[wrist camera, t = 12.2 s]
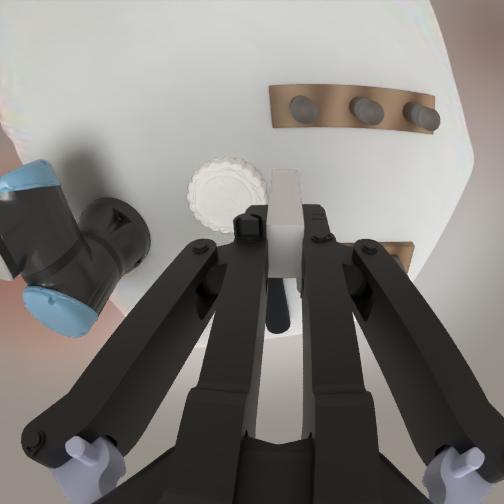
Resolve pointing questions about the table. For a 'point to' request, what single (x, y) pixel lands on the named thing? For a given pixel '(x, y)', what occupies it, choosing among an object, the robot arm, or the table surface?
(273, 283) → the pipe connector
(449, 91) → the table surface
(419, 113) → the rails
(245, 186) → the mooncake
